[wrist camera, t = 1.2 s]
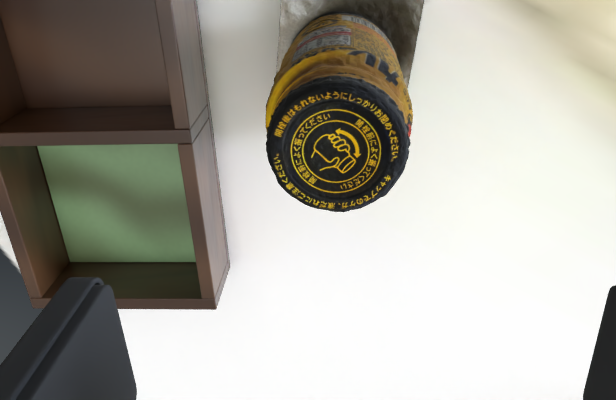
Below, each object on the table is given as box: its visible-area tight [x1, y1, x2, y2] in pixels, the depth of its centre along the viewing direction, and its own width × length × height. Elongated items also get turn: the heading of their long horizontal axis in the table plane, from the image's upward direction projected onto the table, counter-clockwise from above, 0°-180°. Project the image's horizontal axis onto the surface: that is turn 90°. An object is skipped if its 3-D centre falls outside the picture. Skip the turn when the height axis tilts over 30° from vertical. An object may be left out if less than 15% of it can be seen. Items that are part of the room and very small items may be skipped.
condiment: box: [266, 0, 424, 212], centre depth 25 cm, size 7×8×12 cm
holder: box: [0, 0, 230, 309], centre depth 30 cm, size 22×11×4 cm, turn 2°
